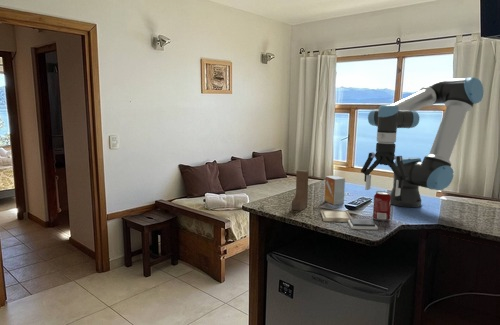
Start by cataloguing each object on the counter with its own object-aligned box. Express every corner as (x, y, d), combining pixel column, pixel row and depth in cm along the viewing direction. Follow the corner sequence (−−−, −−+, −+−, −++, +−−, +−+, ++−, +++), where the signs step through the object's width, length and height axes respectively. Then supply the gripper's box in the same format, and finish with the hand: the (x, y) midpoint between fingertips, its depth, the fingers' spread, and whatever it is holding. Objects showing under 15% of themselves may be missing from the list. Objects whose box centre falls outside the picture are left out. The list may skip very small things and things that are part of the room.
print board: (347, 213, 162) (347, 210, 161) (352, 222, 150) (352, 218, 150) (320, 212, 163) (320, 209, 162) (323, 221, 151) (323, 218, 150)
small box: (324, 201, 182) (325, 176, 180) (334, 199, 185) (335, 175, 183) (333, 205, 175) (334, 179, 173) (344, 203, 178) (345, 178, 175)
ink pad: (372, 222, 149) (372, 218, 148) (377, 229, 141) (377, 225, 141) (347, 222, 149) (348, 218, 149) (351, 228, 142) (352, 224, 141)
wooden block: (300, 211, 165) (301, 173, 162) (291, 209, 167) (292, 172, 164) (307, 206, 172) (308, 170, 169) (299, 205, 175) (300, 169, 172)
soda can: (387, 223, 149) (389, 195, 147) (371, 220, 152) (372, 193, 150) (390, 218, 154) (392, 191, 152) (374, 216, 158) (376, 189, 156)
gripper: (354, 140, 155) (351, 188, 158) (411, 146, 136) (406, 199, 139) (364, 139, 160) (361, 186, 163) (420, 144, 141) (415, 196, 144)
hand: (382, 192), depth 151 cm, fingers open, 13 cm apart
